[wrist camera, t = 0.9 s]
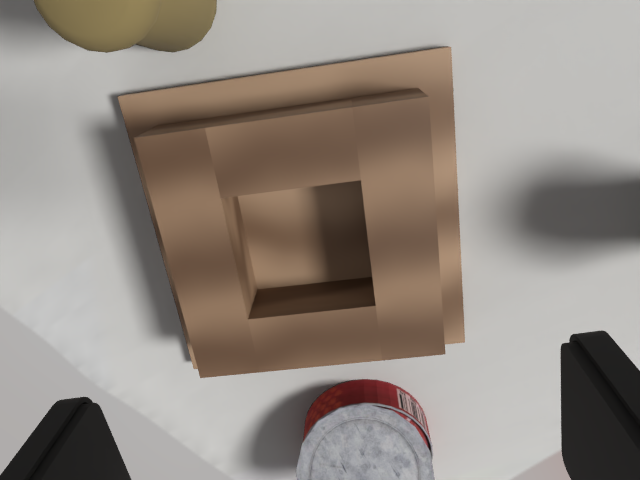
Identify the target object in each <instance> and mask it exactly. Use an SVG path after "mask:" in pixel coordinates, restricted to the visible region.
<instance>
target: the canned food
mask: <svg viewBox="0 0 640 480" xmlns="http://www.w3.org/2000/svg"><path fill="white" fill-rule="evenodd" d="M432 458H433V450H432V443H431V440H430V435H429V431H428V426H427V421H426V417H425V414H424V411H423V409H422V408H421V406H420V405H419V403H418V402H417V400H416V399H415V398H414V397H413V396H412V395H410V394H409V393H408V392H406V391H405V390H403V389H402V388H400V387H398V386H396V385H393V384H391V383H388V382H384V381H379V380H370V379H360V380H351V381H348V382H344V383H341V384H338V385H336V386H334V387H332V388H330V389H328V390H327V391H325V392H324V393H323V394H321V395H320V396H319V397H318V398H317V399H316V400H315V401H314V403H313V404H312V405H311V407H310V409H309V411H308V413H307V417H306V420H305V429H304V439H303V443H302V446H301V451H300V456H299V460H298V464H297V468H296V477H297V480H435V479H434V472H433V466H432Z"/></svg>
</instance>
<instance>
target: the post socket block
mask: <svg viewBox="0 0 640 480" xmlns="http://www.w3.org/2000/svg"><path fill="white" fill-rule="evenodd" d="M118 100H119V104H120V107H121V111H122V114H123V118H124V122H125V125H126V129H127V132H128V136H129V139H130V143H131V147H132V150H133V154H134V157H135V161H136V164H137V168H138V171H139V175H140V179H141V182H142V186H143V189H144V193H145V196H146V200H147V204H148V207H149V211H150V214H151V218H152V221H153V225H154V229H155V232H156V236H157V239H158V243H159V246H160V250H161V253H162V257H163V261H164V264H165V268H166V271H167V275H168V278H169V282H170V286H171V289H172V293H173V296H174V300H175V303H176V307H177V311H178V314H179V318H180V321H181V325H182V328H183V332H184V335H185V339H186V343H187V346H188V350H189V353H190V357H191V360H192V364H193V368H194V369H198V371H199V375H200V378H205V377H216V376H226V375H236V374H246V373H257V372H267V371H277V370H288V369H298V368H308V367H319V366H329V365H339V364H349V363H360V362H370V361H380V360H391V359H401V358H411V357H421V356H432V355H442V354H445V344H453V343H463V342H465V335H464V313H463V292H462V271H461V249H460V228H459V207H458V185H457V164H456V143H455V121H454V100H453V79H452V57H451V47H448V46H447V47H441V48H434V49H427V50H420V51H414V52H407V53H400V54H394V55H387V56H380V57H373V58H367V59H360V60H353V61H347V62H340V63H333V64H326V65H320V66H313V67H306V68H299V69H293V70H286V71H279V72H273V73H266V74H259V75H252V76H246V77H239V78H232V79H226V80H219V81H212V82H205V83H199V84H192V85H185V86H178V87H172V88H165V89H158V90H152V91H145V92H138V93H131V94H125V95H121V96H118Z"/></svg>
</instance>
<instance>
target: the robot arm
mask: <svg viewBox="0 0 640 480" xmlns="http://www.w3.org/2000/svg"><path fill="white" fill-rule="evenodd" d="M561 434H562V456H563V461H564V464H565V467H566V470H567V472H568V474H569V476H570V478H571V480H640V371H639V370H638V368H637V367H636V366H635V365H634V364H633V362H632V361H631V360H630V359H629V358H628V357H627V355H626V354H625V353H624V352H623V351H622V350H621V348H620V347H619V346H618V345H617V344H616V343H615V341H614V340H613V339H612V338H611V337H610V335H609V334H608V333H607V332H605V331H595V332H587V333H579V334H573V335H571V337H570V342H569V343H563V344H562V345H561ZM0 480H131V478H130V476H129V473H128V471H127V469H126V466H125V464H124V462H123V459H122V457H121V455H120V452H119V450H118V447H117V445H116V443H115V441H114V438H113V436H112V433H111V431H110V429H109V426H108V424H107V422H106V419H105V417H104V414H103V412H102V410H101V408H100V406H99V405H98V404H97V403H93V402H92V400H90V399H89V398H88V397H80V398H72V399H64V400H59V401H57V402H56V403H55V404H54V405H53V406H52V407H51V409H50V410H49V411H48V413H47V414H46V415H45V417H44V418H43V419H42V421H41V422H40V423H39V425H38V426H37V427H36V429H35V430H34V431H33V433H32V434H31V435H30V437H29V438H28V439H27V441H26V442H25V443H24V445H23V446H22V447H21V449H20V450H19V451H18V453H17V454H16V455H15V457H14V458H13V459H12V461H11V462H10V463H9V465H8V466H7V467H6V469H5V470H4V471H3V473H2V474H1V475H0Z"/></svg>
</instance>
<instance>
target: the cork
mask: <svg viewBox="0 0 640 480" xmlns="http://www.w3.org/2000/svg"><path fill="white" fill-rule="evenodd" d="M34 3H35V5H36V8H37V10H38V11H39V13H40V14H41V15H42V17H43V18H44V20H45V21H46V23H47V24H48V25H49V27H51V28H52V29H53V30H54V31H55V32H56V33H58V34H59V35H60V36H61V37H62V38H64V39H65V40H67V41H69V42H71V43H73V44H75V45H78V46H80V47H82V48H84V49H86V50H90V51H98V52H106V53H107V52H113V51H117V50H122V49H126V48H130V47H131V46H133V45H134V44H137V45H141V46H144V47H148V48H151V49H155V50H159V51H168V52H177V51H181V50H185V49H189V48H190V47H192V46H193V45H195V44H197V43H198V42H200V41H201V40H202V39H203V37H204V36H205V35H206V34H207V32H208V31H209V30H210V28H211V26H212V23H213V20H214V17H215V14H216V3H217V0H34Z"/></svg>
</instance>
